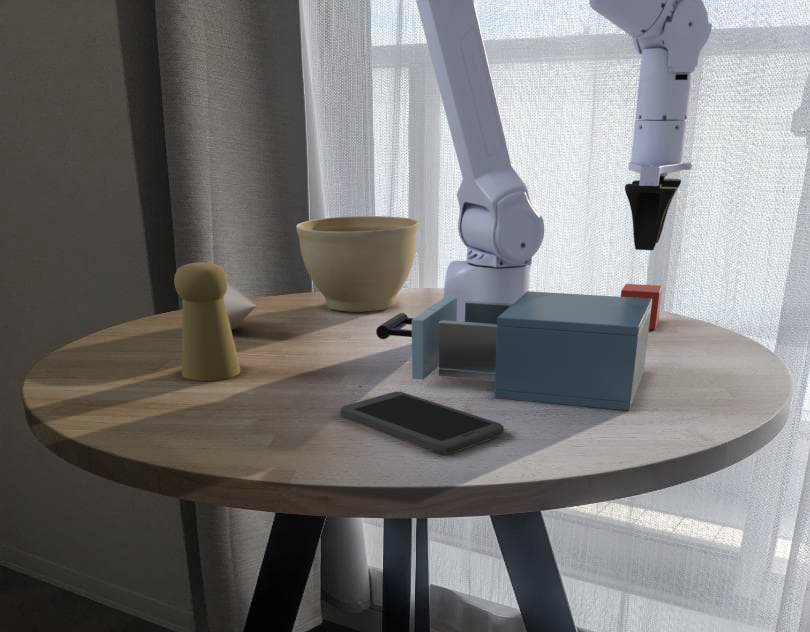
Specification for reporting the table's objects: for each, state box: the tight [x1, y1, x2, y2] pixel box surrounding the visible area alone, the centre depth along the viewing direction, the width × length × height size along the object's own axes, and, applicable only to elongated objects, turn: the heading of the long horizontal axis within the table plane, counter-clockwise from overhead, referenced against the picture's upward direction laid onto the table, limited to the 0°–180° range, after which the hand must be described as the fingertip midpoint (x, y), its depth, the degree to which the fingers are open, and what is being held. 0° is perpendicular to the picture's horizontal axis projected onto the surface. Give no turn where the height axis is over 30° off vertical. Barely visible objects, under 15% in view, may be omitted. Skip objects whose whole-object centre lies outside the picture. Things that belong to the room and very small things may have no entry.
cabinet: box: [494, 290, 652, 411], centre depth 84 cm, size 13×13×8 cm
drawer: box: [375, 296, 512, 382], centre depth 87 cm, size 16×11×6 cm
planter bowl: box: [295, 215, 420, 313], centre depth 117 cm, size 16×16×11 cm
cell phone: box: [339, 391, 505, 454], centre depth 75 cm, size 7×14×1 cm, turn 42°
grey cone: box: [224, 281, 257, 331], centre depth 105 cm, size 6×6×15 cm
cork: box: [173, 261, 241, 382], centre depth 88 cm, size 6×6×11 cm
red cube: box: [620, 283, 663, 331], centre depth 107 cm, size 4×4×4 cm
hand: (646, 246), depth 104 cm, fingers open, 5 cm apart
